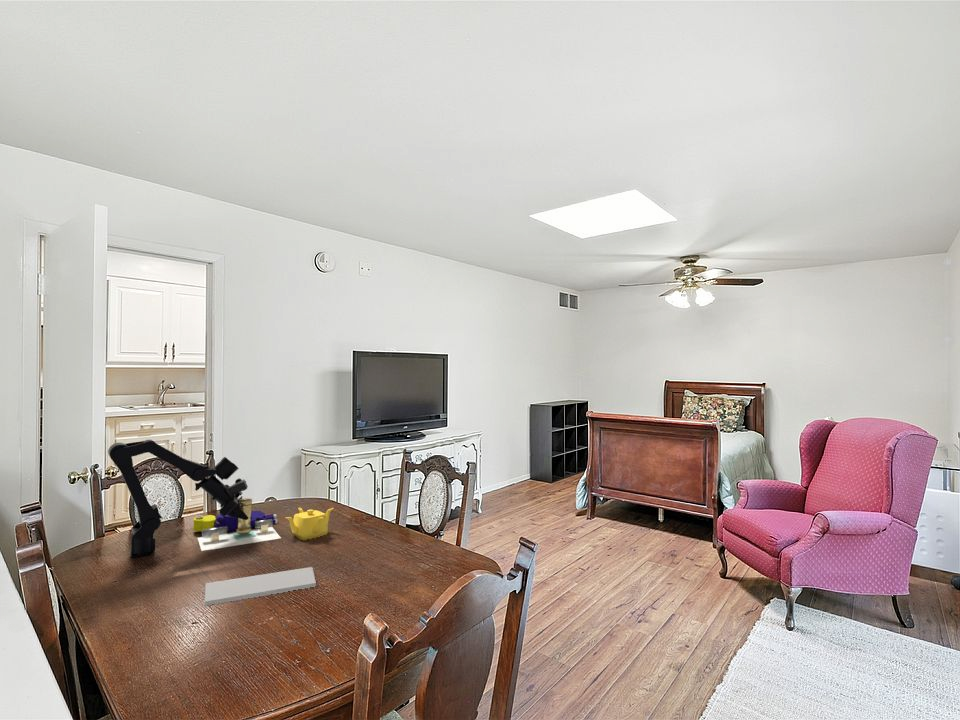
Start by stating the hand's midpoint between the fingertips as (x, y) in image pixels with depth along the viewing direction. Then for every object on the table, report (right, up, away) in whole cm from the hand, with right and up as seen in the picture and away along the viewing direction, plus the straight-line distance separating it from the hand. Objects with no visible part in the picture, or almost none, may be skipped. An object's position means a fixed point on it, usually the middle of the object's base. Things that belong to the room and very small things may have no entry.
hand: (248, 517), depth 192 cm
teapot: (+22, -8, +4) cm, 24 cm away
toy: (-9, -8, +9) cm, 15 cm away
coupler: (-1, -5, -1) cm, 6 cm away
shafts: (-3, -6, -1) cm, 7 cm away
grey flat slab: (+24, -8, -43) cm, 50 cm away
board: (-2, -8, -4) cm, 9 cm away
